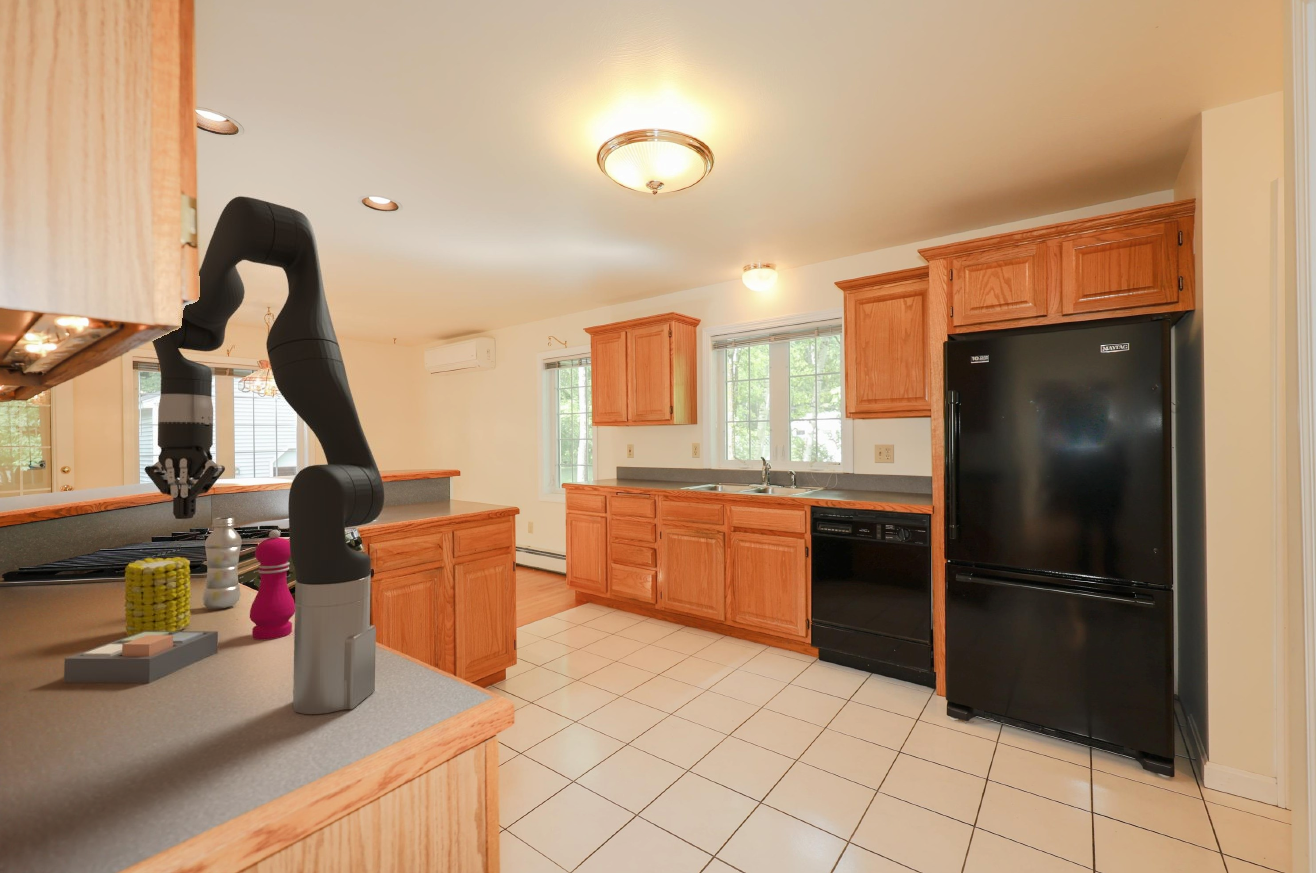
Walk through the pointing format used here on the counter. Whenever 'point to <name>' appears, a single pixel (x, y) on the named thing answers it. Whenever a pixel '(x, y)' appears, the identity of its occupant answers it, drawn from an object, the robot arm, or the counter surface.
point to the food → (157, 595)
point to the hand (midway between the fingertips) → (184, 518)
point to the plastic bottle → (222, 565)
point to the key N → (105, 650)
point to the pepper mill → (272, 590)
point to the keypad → (139, 662)
